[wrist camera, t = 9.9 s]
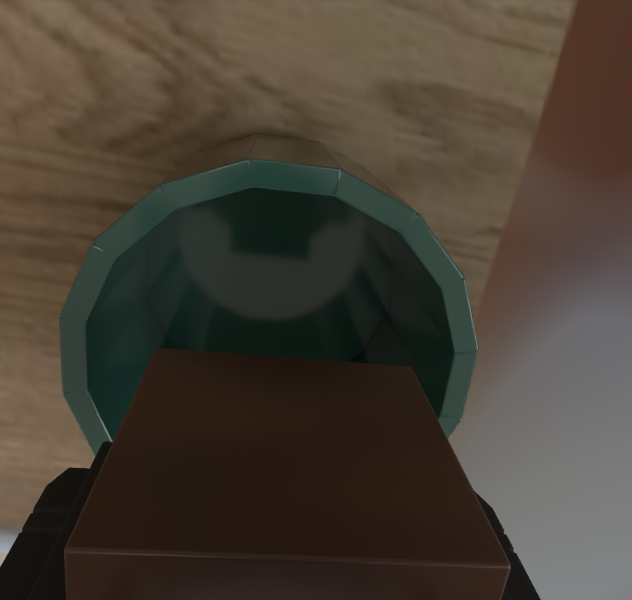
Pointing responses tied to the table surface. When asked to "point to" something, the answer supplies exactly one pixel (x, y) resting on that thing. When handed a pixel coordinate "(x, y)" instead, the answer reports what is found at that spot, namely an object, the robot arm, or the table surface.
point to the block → (281, 489)
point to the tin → (265, 279)
